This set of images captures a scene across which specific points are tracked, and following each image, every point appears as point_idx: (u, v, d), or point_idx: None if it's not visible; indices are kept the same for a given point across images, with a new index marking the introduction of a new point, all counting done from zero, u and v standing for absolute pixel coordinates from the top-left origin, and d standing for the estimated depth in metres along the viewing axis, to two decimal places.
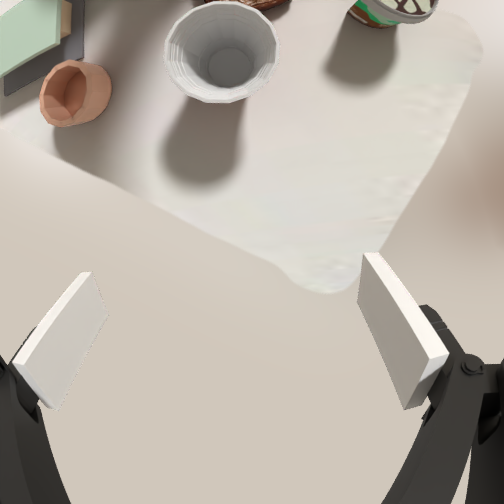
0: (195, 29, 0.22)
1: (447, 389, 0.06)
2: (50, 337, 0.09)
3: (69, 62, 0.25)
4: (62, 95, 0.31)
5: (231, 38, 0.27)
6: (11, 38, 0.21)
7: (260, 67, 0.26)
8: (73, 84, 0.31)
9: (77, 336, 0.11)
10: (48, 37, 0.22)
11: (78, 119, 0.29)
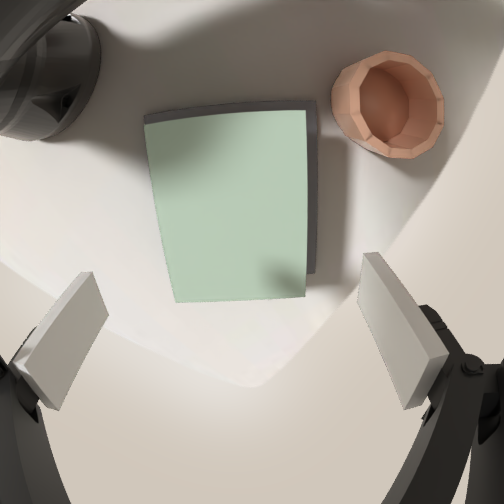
0: None
1: (447, 389, 0.06)
2: (50, 337, 0.09)
3: (355, 84, 0.18)
4: None
5: None
6: (239, 232, 0.23)
7: None
8: None
9: (77, 336, 0.11)
10: (285, 128, 0.20)
11: None
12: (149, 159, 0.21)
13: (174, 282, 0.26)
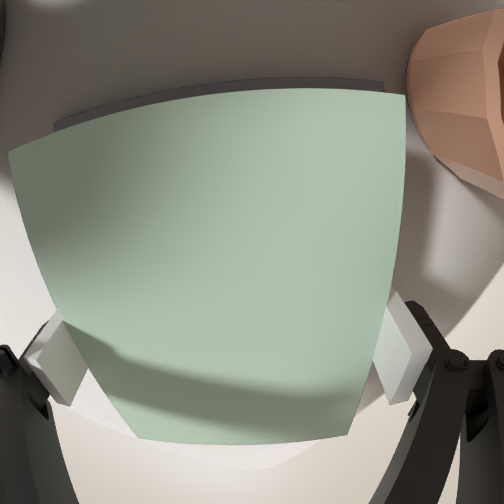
0: None
1: (431, 385, 0.06)
2: (62, 332, 0.09)
3: (491, 53, 0.05)
4: None
5: None
6: (233, 373, 0.10)
7: None
8: None
9: None
10: (353, 140, 0.07)
11: None
12: (27, 228, 0.08)
13: (129, 420, 0.13)
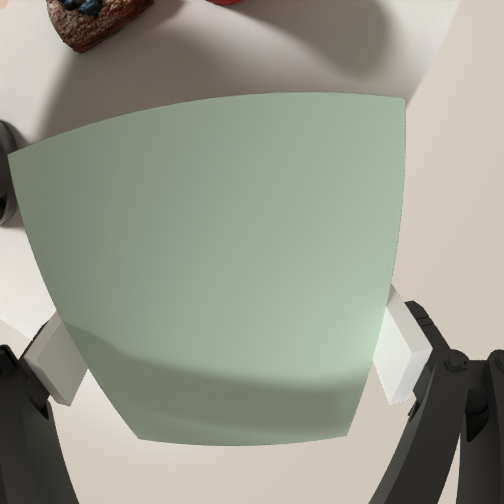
0: None
1: (431, 385, 0.06)
2: (62, 332, 0.09)
3: None
4: None
5: None
6: (233, 375, 0.10)
7: None
8: None
9: None
10: (353, 144, 0.07)
11: None
12: (28, 231, 0.08)
13: (129, 421, 0.13)
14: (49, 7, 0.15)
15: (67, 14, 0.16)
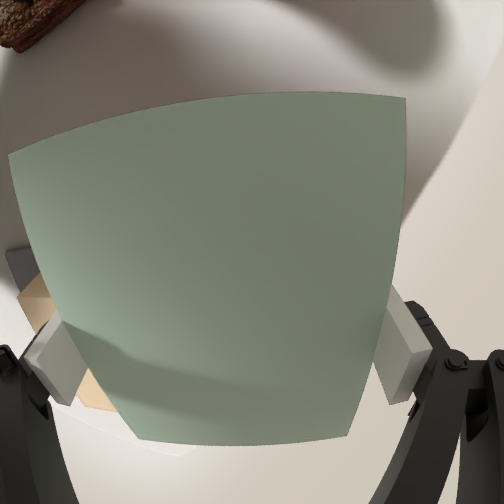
0: None
1: (431, 385, 0.06)
2: (62, 332, 0.09)
3: None
4: None
5: None
6: (233, 375, 0.10)
7: None
8: None
9: None
10: (354, 143, 0.07)
11: None
12: (28, 231, 0.08)
13: (130, 421, 0.13)
14: None
15: (2, 5, 0.08)
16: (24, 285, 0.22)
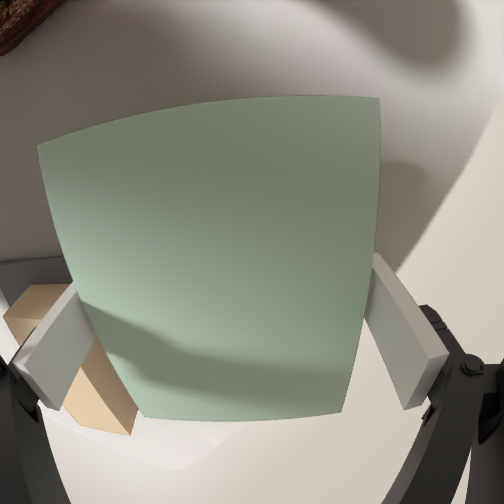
0: None
1: (447, 389, 0.06)
2: (50, 337, 0.09)
3: None
4: None
5: None
6: (234, 344, 0.12)
7: None
8: None
9: (77, 336, 0.11)
10: (335, 137, 0.08)
11: None
12: (53, 213, 0.09)
13: (136, 397, 0.14)
14: None
15: None
16: (13, 300, 0.20)
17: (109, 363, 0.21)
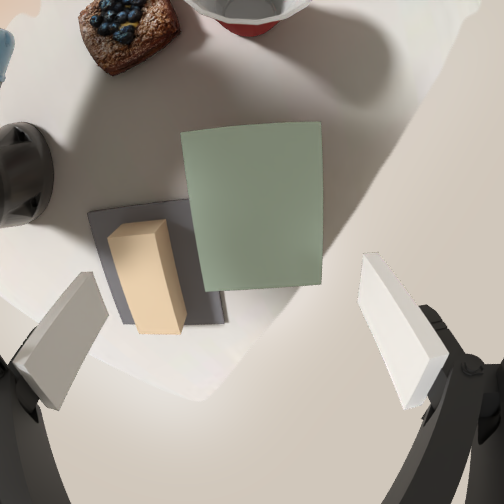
0: (207, 10, 0.17)
1: (447, 389, 0.06)
2: (50, 337, 0.09)
3: None
4: None
5: (216, 2, 0.20)
6: (264, 227, 0.27)
7: None
8: None
9: (77, 336, 0.11)
10: (304, 137, 0.23)
11: None
12: (185, 163, 0.24)
13: (205, 273, 0.29)
14: (82, 30, 0.20)
15: (101, 40, 0.21)
16: (101, 238, 0.35)
17: (174, 275, 0.36)
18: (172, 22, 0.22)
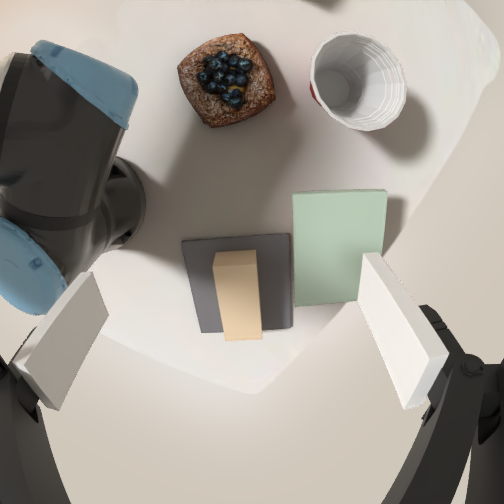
0: None
1: (447, 389, 0.06)
2: (50, 337, 0.09)
3: None
4: None
5: None
6: (343, 261, 0.37)
7: (360, 54, 0.25)
8: None
9: (77, 336, 0.11)
10: (376, 202, 0.33)
11: None
12: (295, 217, 0.34)
13: (297, 293, 0.39)
14: (186, 81, 0.30)
15: (209, 98, 0.31)
16: (193, 263, 0.45)
17: None
18: None
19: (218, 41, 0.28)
